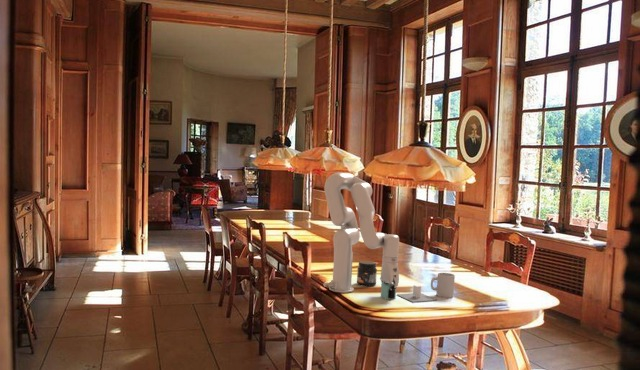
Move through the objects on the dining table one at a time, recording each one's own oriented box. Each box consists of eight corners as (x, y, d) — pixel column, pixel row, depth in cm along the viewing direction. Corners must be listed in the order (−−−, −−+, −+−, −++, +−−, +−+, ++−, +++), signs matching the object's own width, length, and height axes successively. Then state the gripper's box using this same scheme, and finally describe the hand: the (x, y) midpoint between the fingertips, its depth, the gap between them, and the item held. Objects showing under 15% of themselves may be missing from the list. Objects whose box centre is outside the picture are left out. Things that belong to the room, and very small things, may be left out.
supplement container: (353, 282, 291) (354, 260, 291) (370, 282, 295) (372, 260, 294) (361, 287, 281) (362, 264, 281) (379, 286, 285) (380, 264, 285)
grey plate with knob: (412, 302, 255) (413, 290, 255) (396, 295, 268) (397, 283, 268) (436, 300, 261) (437, 288, 261) (420, 293, 274) (420, 281, 274)
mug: (450, 293, 277) (451, 272, 276) (456, 298, 268) (457, 276, 268) (427, 293, 276) (428, 272, 275) (432, 297, 267) (434, 275, 267)
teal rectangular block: (386, 299, 259) (387, 285, 259) (380, 296, 264) (381, 283, 263) (395, 298, 261) (396, 285, 261) (389, 296, 266) (390, 282, 266)
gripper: (406, 262, 255) (404, 300, 256) (387, 256, 271) (385, 291, 272) (393, 263, 252) (390, 301, 253) (374, 256, 268) (372, 292, 269)
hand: (388, 296), depth 262 cm, fingers closed on teal rectangular block, 5 cm apart
